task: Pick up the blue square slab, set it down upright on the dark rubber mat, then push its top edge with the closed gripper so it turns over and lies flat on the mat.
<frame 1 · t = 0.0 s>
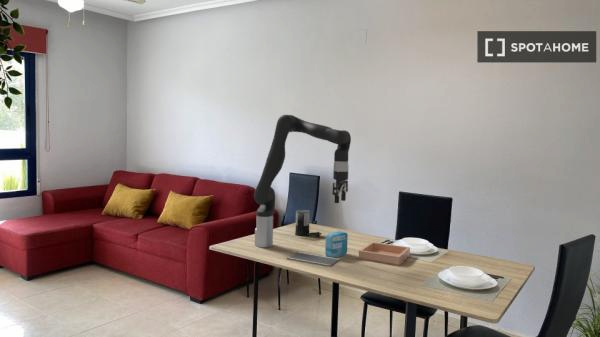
hand: (340, 201, 229), 29 cm above the table, fingers open, 8 cm apart
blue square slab: (336, 255, 237), on the table
milk frother: (308, 235, 278), on the table
mat: (313, 259, 229), on the table
planter saucer: (384, 257, 235), on the table
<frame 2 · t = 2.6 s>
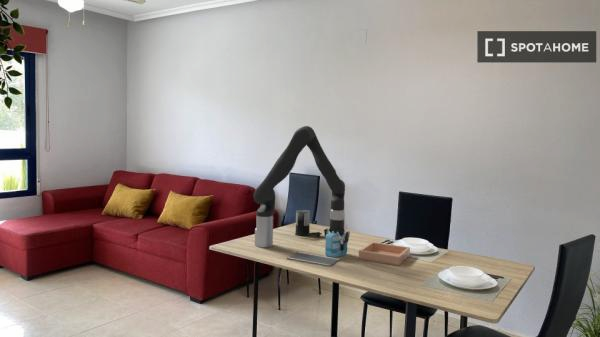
hand: (336, 249, 237), 3 cm above the table, fingers closed on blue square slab, 5 cm apart
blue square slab: (336, 255, 237), on the table, touching gripper
everything else where it was.
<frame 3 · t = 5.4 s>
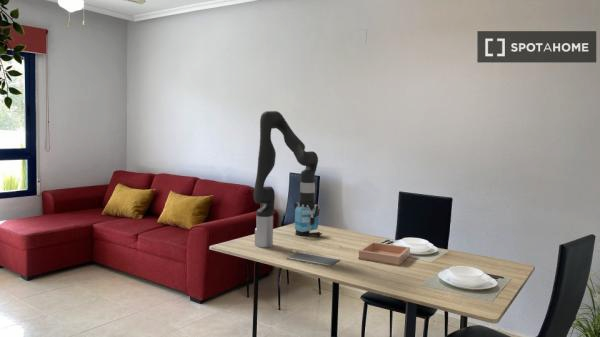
hand: (306, 223, 229), 18 cm above the table, fingers closed on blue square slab, 5 cm apart
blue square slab: (306, 230, 229), point 15 cm above the table, touching gripper
everything else where it was.
when the fingers open (4 cm above the table, at t = 8.2 s): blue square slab stays where it is, resting on mat.
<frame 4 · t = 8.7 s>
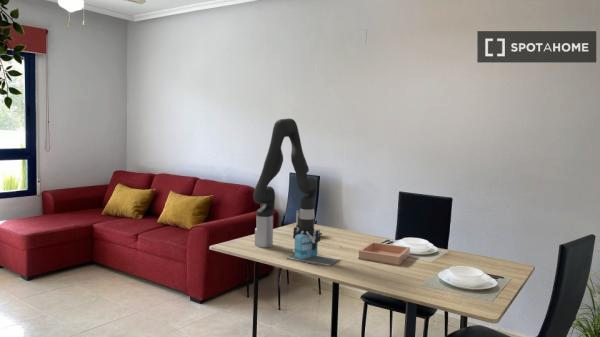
hand: (306, 248, 230), 5 cm above the table, fingers open, 8 cm apart
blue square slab: (305, 257, 231), resting on mat
everything else where it was.
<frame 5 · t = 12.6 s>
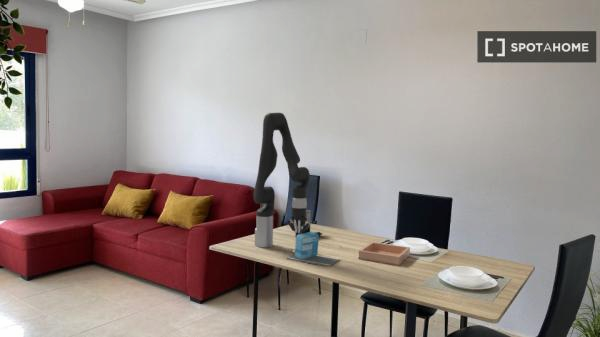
hand: (298, 239, 232), 9 cm above the table, fingers closed
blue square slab: (305, 257, 231), point 1 cm above the table, touching gripper, mat
everything else where it was.
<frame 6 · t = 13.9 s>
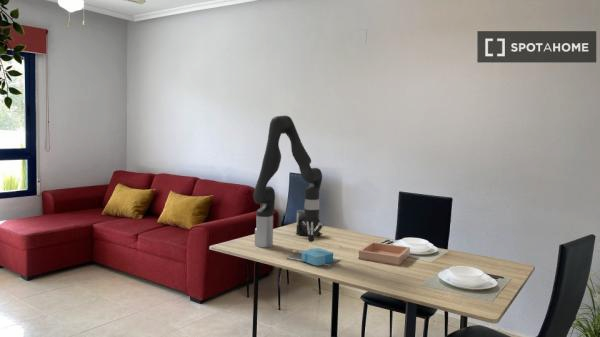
hand: (311, 241, 228), 9 cm above the table, fingers closed
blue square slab: (308, 253, 229), point 3 cm above the table, touching mat
everything else where it was.
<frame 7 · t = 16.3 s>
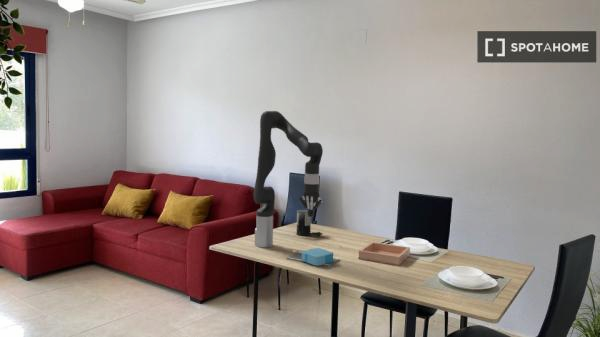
hand: (310, 216, 228), 22 cm above the table, fingers closed
nothing on the table moved.
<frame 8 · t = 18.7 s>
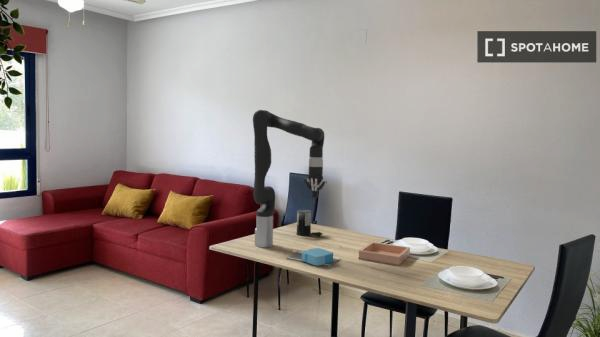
hand: (315, 197, 242), 29 cm above the table, fingers closed
nothing on the table moved.
at the end: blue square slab tilted 90°; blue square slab inside the target area on the mat (2.7 cm from its centre), point 2.9 cm above the mat's base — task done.
